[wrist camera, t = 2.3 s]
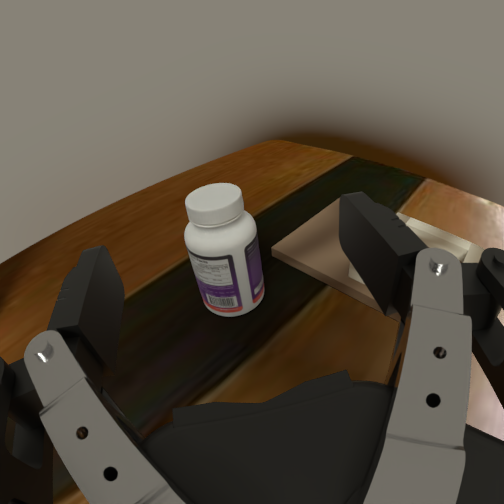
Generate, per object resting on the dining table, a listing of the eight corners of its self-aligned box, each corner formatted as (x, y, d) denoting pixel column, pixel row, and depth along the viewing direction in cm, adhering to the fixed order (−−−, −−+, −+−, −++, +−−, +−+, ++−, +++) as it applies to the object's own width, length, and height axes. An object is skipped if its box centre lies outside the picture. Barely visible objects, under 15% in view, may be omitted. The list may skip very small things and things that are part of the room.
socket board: (272, 255, 32) (269, 234, 30) (338, 205, 38) (339, 186, 36) (443, 345, 21) (454, 324, 19) (478, 263, 27) (486, 243, 25)
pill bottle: (243, 266, 31) (227, 172, 25) (277, 297, 27) (267, 194, 21) (192, 292, 29) (163, 196, 23) (222, 329, 25) (194, 226, 19)
